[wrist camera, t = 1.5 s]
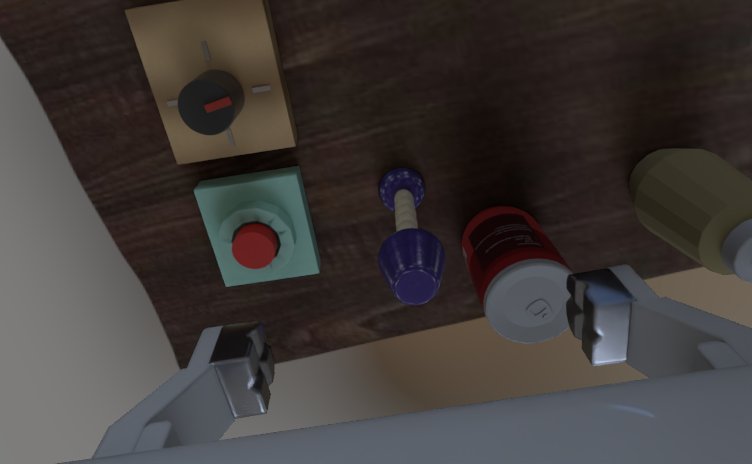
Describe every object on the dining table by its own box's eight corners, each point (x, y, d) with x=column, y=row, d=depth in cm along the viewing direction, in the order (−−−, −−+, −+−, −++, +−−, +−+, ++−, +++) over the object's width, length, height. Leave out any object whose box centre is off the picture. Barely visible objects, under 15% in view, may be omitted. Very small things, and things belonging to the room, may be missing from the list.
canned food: (509, 284, 53) (544, 357, 43) (443, 252, 51) (465, 321, 41) (556, 225, 50) (605, 289, 40) (488, 189, 48) (523, 246, 38)
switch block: (200, 180, 46) (187, 198, 43) (298, 165, 46) (294, 182, 43) (230, 274, 51) (221, 297, 47) (320, 260, 51) (318, 283, 47)
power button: (230, 226, 45) (226, 235, 43) (272, 219, 44) (269, 229, 43) (242, 261, 46) (238, 272, 45) (281, 255, 46) (279, 265, 45)
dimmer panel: (136, 7, 40) (122, 10, 37) (264, -14, 39) (259, -13, 37) (185, 155, 45) (176, 165, 43) (298, 137, 45) (295, 147, 43)
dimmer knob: (207, 127, 42) (192, 144, 38) (183, 79, 40) (165, 91, 36) (253, 111, 41) (243, 126, 37) (231, 62, 39) (217, 72, 36)
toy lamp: (373, 211, 48) (381, 320, 34) (371, 163, 46) (380, 257, 31) (424, 209, 49) (454, 317, 34) (425, 162, 46) (458, 255, 32)
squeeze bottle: (613, 148, 47) (749, 245, 31) (705, 125, 46) (893, 212, 30) (616, 225, 50) (740, 348, 34) (701, 205, 50) (868, 320, 34)
